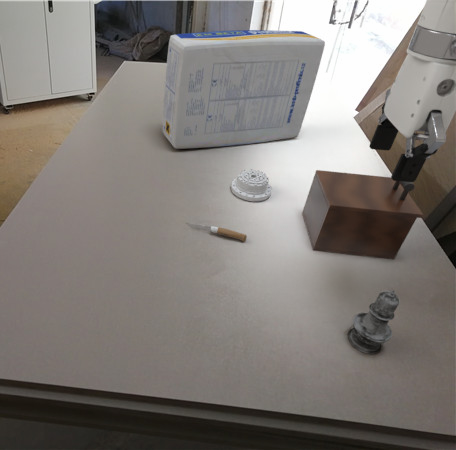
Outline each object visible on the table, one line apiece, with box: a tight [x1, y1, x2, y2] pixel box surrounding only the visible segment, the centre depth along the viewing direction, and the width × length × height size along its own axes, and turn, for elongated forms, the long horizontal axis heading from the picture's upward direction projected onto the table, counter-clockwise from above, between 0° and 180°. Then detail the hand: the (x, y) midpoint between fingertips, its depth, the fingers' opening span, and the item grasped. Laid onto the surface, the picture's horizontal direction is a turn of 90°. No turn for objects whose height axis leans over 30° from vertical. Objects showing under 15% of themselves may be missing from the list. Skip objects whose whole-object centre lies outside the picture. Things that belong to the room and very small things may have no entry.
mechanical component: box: [230, 168, 273, 202], centre depth 101 cm, size 10×4×10 cm
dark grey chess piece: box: [347, 290, 400, 355], centre depth 64 cm, size 6×6×12 cm
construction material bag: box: [162, 29, 326, 150], centre depth 117 cm, size 43×12×30 cm, turn 108°
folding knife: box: [185, 222, 248, 243], centre depth 87 cm, size 14×2×2 cm, turn 70°
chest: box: [301, 172, 417, 260], centre depth 86 cm, size 17×14×11 cm
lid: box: [315, 169, 424, 219], centre depth 82 cm, size 17×14×5 cm
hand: (390, 163), depth 62 cm, fingers open, 9 cm apart
